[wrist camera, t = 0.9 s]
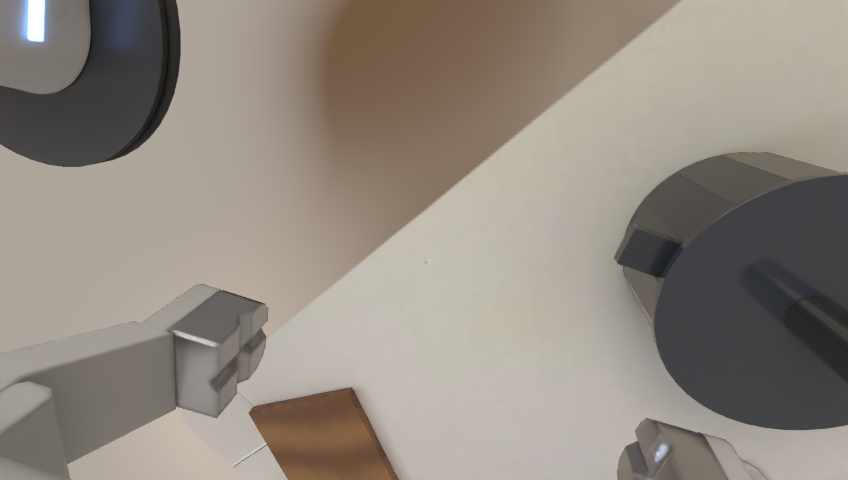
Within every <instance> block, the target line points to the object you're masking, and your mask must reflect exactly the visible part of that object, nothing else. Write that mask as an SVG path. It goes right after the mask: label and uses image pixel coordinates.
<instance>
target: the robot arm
mask: <svg viewBox="0 0 848 480" xmlns="http://www.w3.org/2000/svg"><path fill="white" fill-rule="evenodd" d="M90 39H91V22H90V10H89V0H0V86H5V87H10V88H14V89H18V90H22V91H26V92H29V93H34V94H51V93H55V92H58V91H61V90H63V89H65V88H66V87H68V86H69V85H70V84H72V83H73V82H74V81H75V80H76V78H77V77H78V76H79V74H80V73H81V71H82V69H83V67H84V65H85V63H86V60H87V57H88V53H89V47H90ZM267 321H268V307H267V306H266V304H264V303H261V302H258V301H255V300H252V299H249V298H246V297H242V296H239V295H236V294H233V293H230V292H227V291H222V290H220V289H217V288H214V287H211V286H207V285H204V284H199V285H195V286H193V287H192V288H190V289H189V290H188V291H186V292H185V293H183V294H182V295H180V296H179V297H178V298H176V299H175V300H173V301H172V302H170V303H169V304H168V305H166V306H165V307H163V308H162V309H161V310H159V311H158V312H156V313H155V314H153V315H152V316H151V317H149V318H148V319H146V320H145V321H144V322H142V323H138V322H135V321H133V322H129V323H125V324H121V325H117V326H113V327H108V328H104V329H100V330H96V331H91V332H87V333H83V334H79V335H75V336H71V337H66V338H62V339H58V340H54V341H50V342H46V343H42V344H37V345H33V346H29V347H26V348H21V349H17V350H13V351H9V352H4V353H1V354H0V480H70V475H69V470H68V465H67V464H69V463H70V462H73V461H74V460H76V459H78V458H80V457H82V456H84V455H86V454H88V453H90V452H92V451H94V450H96V449H98V448H100V447H102V446H104V445H106V444H108V443H110V442H112V441H114V440H116V439H118V438H120V437H122V436H124V435H126V434H128V433H129V432H131V431H134V430H135V429H137V428H139V427H141V426H143V425H145V424H147V423H149V422H151V421H153V420H155V419H157V418H159V417H161V416H163V415H165V414H167V413H169V412H171V411H173V410H175V409H176V407H180V408H183V409H187V410H190V411H193V412H197V413H200V414H204V415H207V416H211V417H214V418H217V417H218V416H219V415H220V414H221V412H222V411H223V410H224V409H225V408H226V406H227V405H228V404H229V403H230V401H231V400H232V399H233V398H234V397H235V395H236V394H237V384H238V383H240V382H242V381H245V380H247V379H249V378H250V377H251V376H252V374H253V373H254V372H255V370H256V369H257V367H258V365H259V363H260V361H261V359H262V357H263V354H264V350H265V346H266V335H265V334H264V332H263V330H262V328H261V327H262V326H263V325H264V324H265V323H266V322H267ZM635 432H636V436H637V439H638V441H637V442H634V443H632V444H630V445H628V446H626V447H625V449H624V451H623V452H622V454H621V456H620V458H619V464H618V470H617V477H618V480H753V479H752V477H751V476H750V474H749V472H748V471H747V469H746V467H745V466H744V464H743V462H742V461H741V459H740V458H739V456H738V454H737V453H736V451H735V449H734V448H733V446H732V445H731V444H730V443H729V442H727V441H726V440H725V439H721V438H718V437H714V436H710V435H707V434H703V433H700V432H697V433H696V432H693V431H690V430H687V429H683V428H680V427H676V426H673V425H669V424H666V423H663V422H659V421H656V420H652V419H649V418H646V419H645V420H643V421H642V422H640V424H639V426H638V427H637V429H636V430H635Z"/></svg>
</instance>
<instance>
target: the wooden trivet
mask: <svg viewBox="0 0 848 480" xmlns="http://www.w3.org/2000/svg"><path fill="white" fill-rule="evenodd" d="M249 415H250V416H251V418H252V420H253V421H254V423H255V425H256V426H257V428H258V430H259V431H260V433H261V435H262V437H263V438H264V440H265V442H266V443H267V445H268V447H269V448H270V450H271V452H272V453H273V455H274V457H275V458H276V460H277V462H278V464H279V465H280V467H281V469H282V470H283V472H284V474H285V475H286V477H287V479H288V480H398V479H397V477H396V475H395V473H394V471H393V469H392V467H391V465H390V463H389V461H388V459H387V457H386V455H385V453H384V451H383V449H382V447H381V445H380V443H379V441H378V439H377V437H376V435H375V433H374V431H373V429H372V427H371V425H370V423H369V421H368V419H367V417H366V415H365V413H364V411H363V409H362V407H361V405H360V403H359V401H358V399H357V397H356V395H355V393H354V391H353V389H352V388H347V389H342V390H337V391H332V392H327V393H322V394H317V395H312V396H307V397H302V398H296V399H291V400H286V401H281V402H276V403H271V404H266V405H261V406H256V407H253V408H252V409H251V411H250V412H249Z"/></svg>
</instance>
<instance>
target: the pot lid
mask: <svg viewBox="0 0 848 480" xmlns="http://www.w3.org/2000/svg"><path fill="white" fill-rule="evenodd" d="M651 326H652V333H653V339H654V342H655V345H656V349H657V352H658V354H659V356H660V358H661V360H662V362H663V364H664V366H665V367H666V369H667V371H668V373H669V374H670V375H671V377H672V378H673V379H674V381H675V382H676V383H677V384H678V385H679V386H680V387H681V388H682V389H683V390H684V391H685V392H686V393H687V394H688V395H689V396H691V397H692V398H693V399H694V400H696V401H697V402H698V403H700V404H701V405H703V406H705V407H707V408H708V409H710V410H712V411H714V412H716V413H718V414H720V415H723V416H725V417H727V418H730V419H733V420H736V421H739V422H742V423H745V424H749V425H754V426H759V427H764V428H773V429H782V430H813V429H826V428H832V427H839V426H845V425H848V172H837V173H827V174H818V175H811V176H806V177H801V178H797V179H792V180H788V181H785V182H781V183H778V184H775V185H772V186H769V187H766V188H763V189H761V190H759V191H757V192H754V193H752V194H750V195H747V196H745V197H743V198H741V199H739V200H738V201H736V202H734V203H732V204H731V205H729V206H727V207H725V208H724V209H722V210H721V211H719V212H718V213H716V214H715V215H714V216H712V217H711V218H709V219H708V220H707V221H705V222H704V223H703V224H702V225H701V226H700V227H699V228H698V229H696V230H695V231H694V232H693V233H692V234H691V235H690V236H689V237H688V238H687V239H686V240H685V242H684V243H683V244H682V245H681V246H680V247H679V248H678V250H677V251H676V252H675V254H674V255H673V257H672V258H671V260H670V261H669V263H668V264H667V266H666V268H665V270H664V272H663V274H662V276H661V278H660V280H659V283H658V286H657V289H656V292H655V295H654V300H653V305H652V319H651Z"/></svg>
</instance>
